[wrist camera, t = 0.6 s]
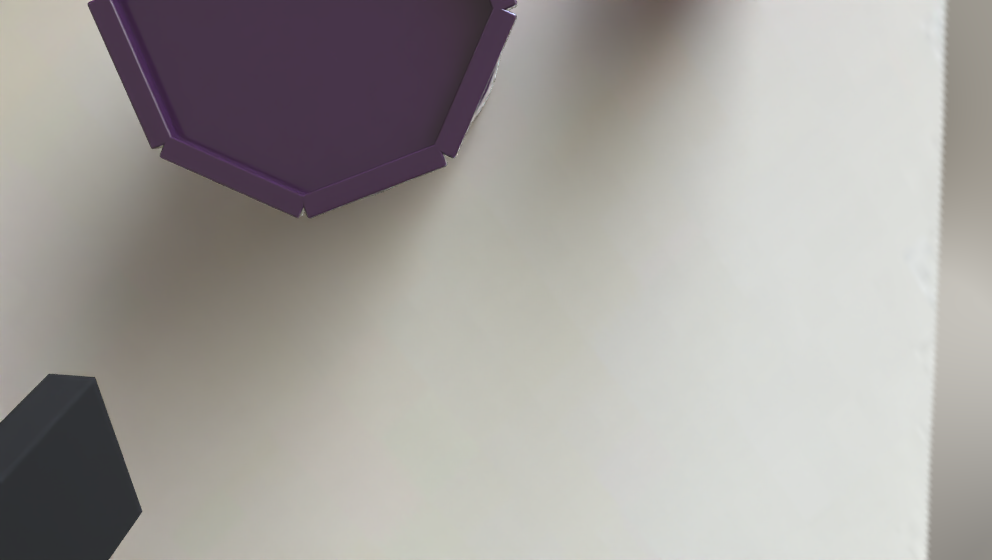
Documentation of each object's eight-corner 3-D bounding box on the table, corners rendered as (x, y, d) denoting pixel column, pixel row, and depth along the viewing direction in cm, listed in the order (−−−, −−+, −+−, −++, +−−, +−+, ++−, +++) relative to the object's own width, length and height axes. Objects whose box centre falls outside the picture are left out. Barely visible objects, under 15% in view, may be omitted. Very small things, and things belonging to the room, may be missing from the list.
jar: (446, 213, 35) (408, 270, 22) (214, 109, 34) (42, 108, 22) (551, -25, 33) (573, -108, 20) (309, -139, 32) (181, -294, 20)
